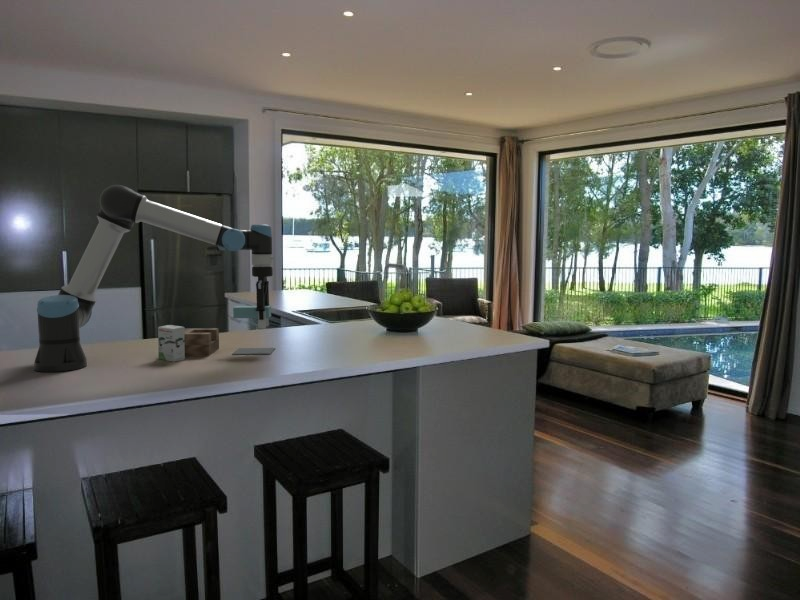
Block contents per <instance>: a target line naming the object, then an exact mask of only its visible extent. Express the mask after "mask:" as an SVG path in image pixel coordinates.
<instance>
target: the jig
mask: <svg viewBox="0 0 800 600" xmlns="http://www.w3.org/2000/svg"><path fill="white" fill-rule="evenodd" d="M219 330H220V329H219V327H218V328H217V327H212V328H211V327H209V328H206V327H205V328H203V327H202V328H200V327H199V328H198V327H197V328H193V327H192V328H190V327H187V328H185V327H184V345H185V357H194V356H195V357H198V356H199V357H201V356H202V357H207V356H208V357H210V356H211V355H212V354H214V353H215V352H217V351H218V350H219V349H220V333H219V332H220V331H219Z"/></svg>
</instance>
